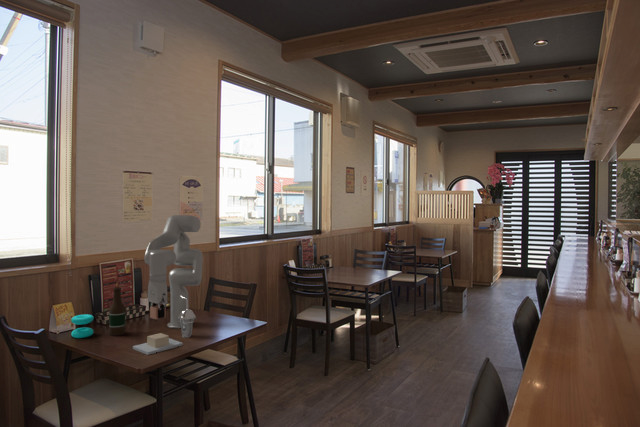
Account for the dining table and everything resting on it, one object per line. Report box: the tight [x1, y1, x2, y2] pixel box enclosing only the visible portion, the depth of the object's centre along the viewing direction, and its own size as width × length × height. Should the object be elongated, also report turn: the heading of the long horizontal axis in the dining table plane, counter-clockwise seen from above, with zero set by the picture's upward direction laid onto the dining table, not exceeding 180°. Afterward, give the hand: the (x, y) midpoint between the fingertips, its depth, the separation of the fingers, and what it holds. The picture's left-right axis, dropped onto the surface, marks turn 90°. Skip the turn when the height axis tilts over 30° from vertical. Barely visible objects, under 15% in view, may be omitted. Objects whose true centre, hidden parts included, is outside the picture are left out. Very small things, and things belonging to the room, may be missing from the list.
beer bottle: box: [108, 286, 127, 337], centre depth 233 cm, size 8×8×24 cm
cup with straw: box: [178, 296, 196, 339], centre depth 231 cm, size 8×9×20 cm
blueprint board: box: [132, 332, 184, 356], centre depth 213 cm, size 18×13×5 cm
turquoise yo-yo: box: [71, 313, 95, 339], centre depth 230 cm, size 10×10×10 cm
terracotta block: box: [149, 305, 167, 320], centre depth 212 cm, size 5×5×5 cm
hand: (157, 316), depth 212 cm, fingers closed on terracotta block, 4 cm apart
